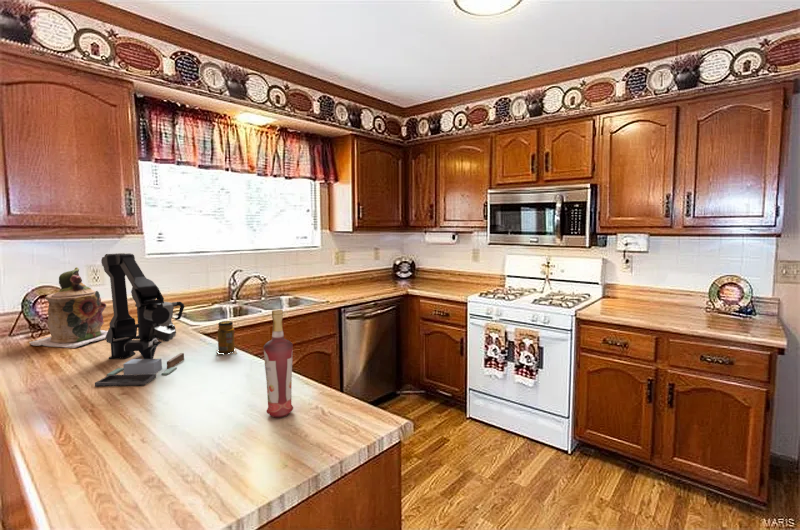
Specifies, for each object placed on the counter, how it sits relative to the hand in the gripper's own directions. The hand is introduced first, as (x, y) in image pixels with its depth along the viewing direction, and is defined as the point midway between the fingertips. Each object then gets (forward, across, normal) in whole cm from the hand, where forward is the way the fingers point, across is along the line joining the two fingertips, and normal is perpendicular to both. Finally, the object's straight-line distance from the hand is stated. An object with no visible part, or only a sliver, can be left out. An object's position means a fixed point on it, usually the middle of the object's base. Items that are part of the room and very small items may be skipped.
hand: (149, 363), depth 147 cm
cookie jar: (+2, +40, +53) cm, 66 cm away
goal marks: (+2, -5, 0) cm, 5 cm away
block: (+2, -4, 0) cm, 4 cm away
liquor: (+2, -39, -55) cm, 68 cm away
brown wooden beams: (+2, +4, 0) cm, 4 cm away
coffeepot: (+2, +43, +16) cm, 46 cm away
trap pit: (+2, -14, 0) cm, 14 cm away
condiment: (+2, +18, -20) cm, 27 cm away
